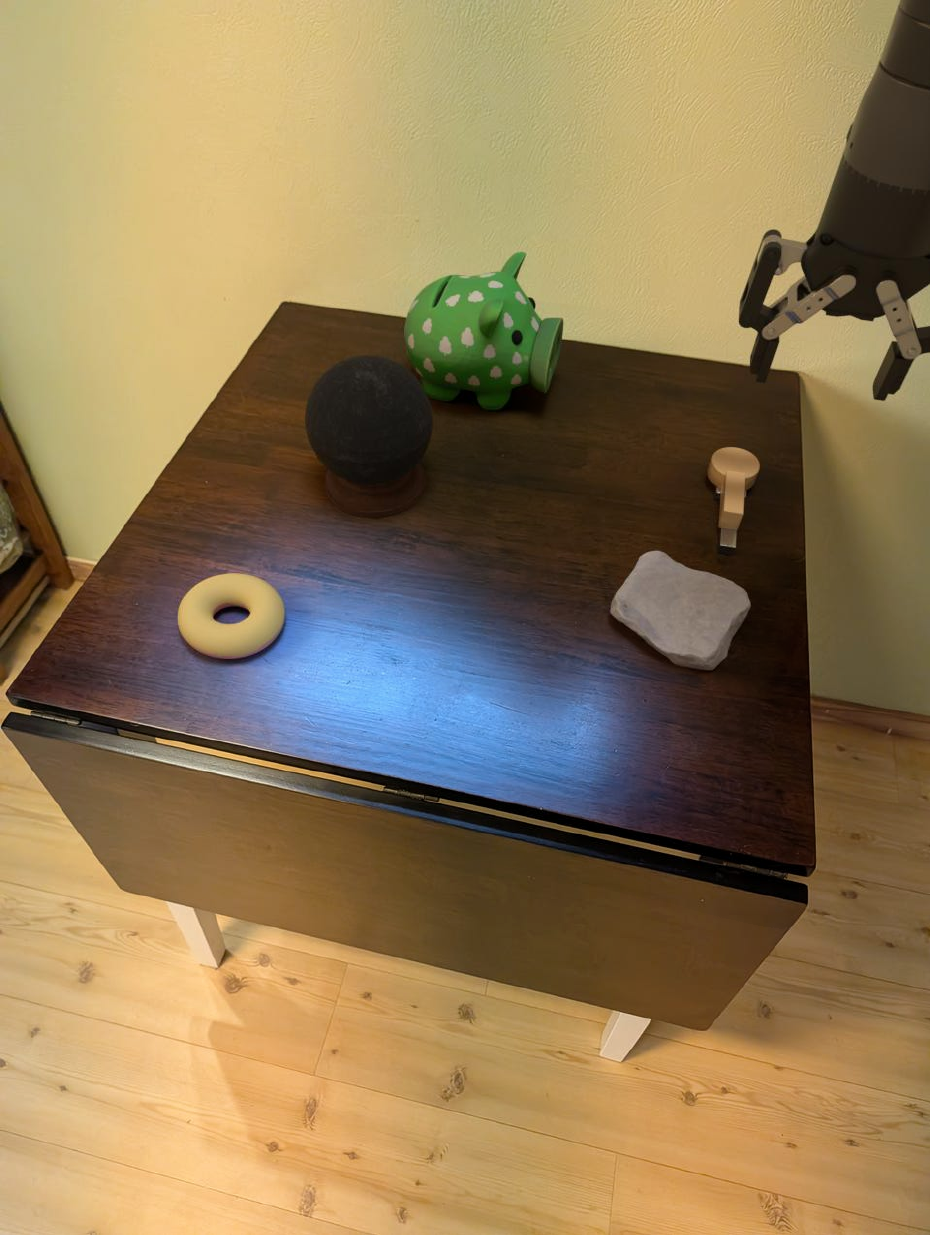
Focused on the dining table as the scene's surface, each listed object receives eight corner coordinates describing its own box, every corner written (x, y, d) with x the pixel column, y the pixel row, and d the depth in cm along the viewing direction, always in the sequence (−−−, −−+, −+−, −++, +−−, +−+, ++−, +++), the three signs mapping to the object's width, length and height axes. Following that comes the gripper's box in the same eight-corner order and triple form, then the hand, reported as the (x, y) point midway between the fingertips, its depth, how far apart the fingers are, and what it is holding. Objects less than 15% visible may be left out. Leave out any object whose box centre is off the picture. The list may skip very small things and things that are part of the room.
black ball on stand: (430, 526, 90) (426, 411, 78) (307, 522, 90) (285, 406, 78) (438, 446, 98) (435, 331, 86) (325, 442, 98) (307, 327, 87)
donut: (253, 687, 79) (305, 610, 83) (246, 667, 75) (301, 587, 79) (162, 641, 80) (218, 568, 85) (151, 619, 76) (210, 543, 80)
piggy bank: (538, 435, 99) (549, 321, 88) (392, 409, 102) (384, 294, 91) (561, 367, 108) (574, 254, 96) (425, 344, 111) (422, 232, 99)
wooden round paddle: (753, 533, 88) (759, 516, 86) (702, 524, 89) (708, 508, 87) (755, 464, 95) (761, 448, 93) (708, 457, 95) (713, 440, 94)
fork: (740, 557, 87) (743, 549, 86) (709, 551, 88) (712, 543, 87) (744, 467, 96) (747, 459, 95) (716, 462, 97) (718, 454, 96)
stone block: (709, 692, 79) (752, 610, 82) (715, 669, 75) (760, 584, 78) (595, 639, 83) (641, 564, 87) (595, 614, 79) (643, 537, 83)
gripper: (788, 169, 49) (719, 401, 61) (1050, 198, 47) (923, 431, 59) (787, 118, 53) (723, 344, 66) (1026, 143, 51) (913, 370, 64)
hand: (818, 385), depth 63 cm, fingers open, 8 cm apart
